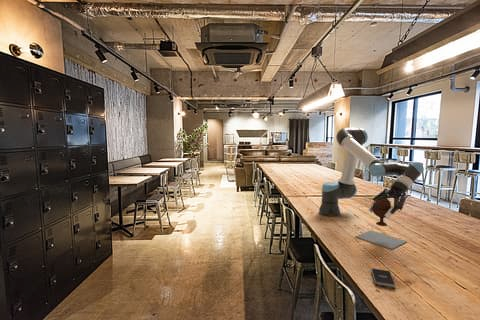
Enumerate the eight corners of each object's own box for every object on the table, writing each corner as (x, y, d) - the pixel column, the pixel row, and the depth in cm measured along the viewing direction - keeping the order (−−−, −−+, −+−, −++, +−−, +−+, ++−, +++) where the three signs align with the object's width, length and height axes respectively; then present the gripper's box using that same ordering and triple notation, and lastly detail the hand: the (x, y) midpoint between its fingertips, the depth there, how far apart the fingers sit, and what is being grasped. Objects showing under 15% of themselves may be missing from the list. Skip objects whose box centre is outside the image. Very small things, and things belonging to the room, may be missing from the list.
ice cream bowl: (390, 222, 146) (391, 196, 145) (394, 228, 135) (396, 201, 134) (369, 220, 149) (370, 195, 148) (372, 226, 139) (373, 199, 138)
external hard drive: (374, 286, 99) (375, 281, 99) (371, 272, 110) (371, 267, 109) (395, 290, 97) (395, 285, 97) (389, 275, 107) (389, 270, 107)
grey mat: (355, 237, 147) (355, 236, 147) (370, 231, 156) (370, 230, 156) (391, 250, 130) (392, 248, 130) (406, 242, 140) (407, 241, 140)
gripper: (381, 177, 154) (359, 204, 152) (417, 184, 131) (391, 216, 129) (388, 185, 156) (366, 212, 153) (425, 193, 133) (399, 225, 131)
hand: (377, 214), depth 141 cm, fingers closed on ice cream bowl, 11 cm apart
